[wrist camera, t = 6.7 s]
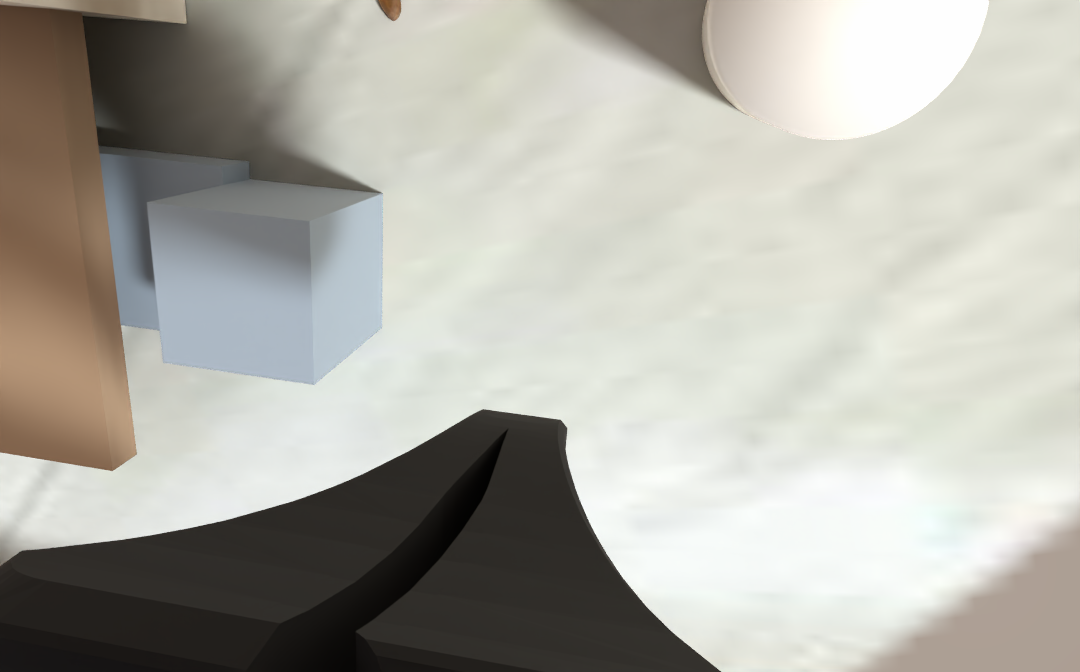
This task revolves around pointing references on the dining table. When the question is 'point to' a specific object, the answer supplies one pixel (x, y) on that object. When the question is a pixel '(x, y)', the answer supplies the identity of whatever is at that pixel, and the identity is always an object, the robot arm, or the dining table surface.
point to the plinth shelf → (59, 241)
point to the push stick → (242, 264)
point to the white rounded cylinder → (837, 59)
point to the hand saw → (391, 8)
